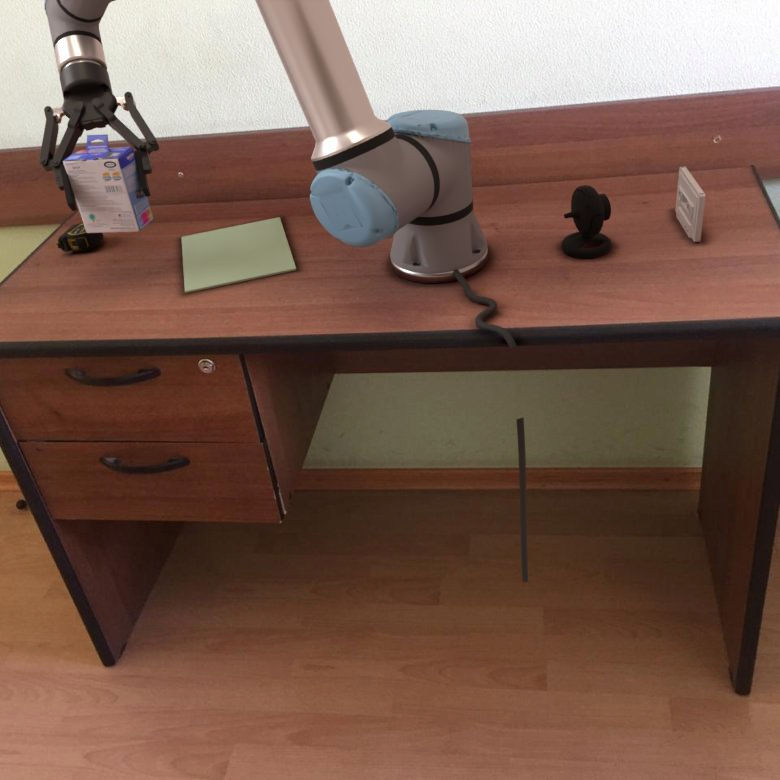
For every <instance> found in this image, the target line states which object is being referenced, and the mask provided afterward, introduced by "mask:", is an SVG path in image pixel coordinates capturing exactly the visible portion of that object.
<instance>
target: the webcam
mask: <svg viewBox="0 0 780 780" xmlns="http://www.w3.org/2000/svg"><path fill="white" fill-rule="evenodd" d="M611 215H612V205H611V202H610V199H609V197H608V196H607V194H605V193H598V191H597V190H596V189H595V188H594V187H593V186H591V185H589V184H588V185H586V184H584V185H580V186H577V187H576V188H575V189H574V190H573V192H572V195H571V199H570V211H569V212H566V213H564V214H563V217H564V219H565V220H567V219H572V220H573V223H574V226H575V227H576V229H577V231H576V232H572V233H569V234H568V235H566V236H565V237H564V238H563V239H562V240H561V249H562V251H563V252H565V254H567V255H569V256H571V257H574V258H578V259H579V258H580V259H593V258H597V257H601V256H603V255H605V254H607V253H608V252H609V251H610V249H611V247H612V241H611V238H610V237H609V236H608V235H606V234H604V233H602V232H601V231H602V229H603V226H604V222H606V221H609V219H610V218H611ZM591 243H599V244H600V245H598V246H595V247H588V248H582V247H583V246H586V245H588V244H591Z"/></svg>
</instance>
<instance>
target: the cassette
mask: <svg viewBox="0 0 780 780" xmlns="http://www.w3.org/2000/svg"><path fill="white" fill-rule="evenodd" d="M677 177H678V179H677V180H678V181H677V189H676V190H677V191H676V198H675V199H676V201H675V210H674V211H675V213H676V214H675V217H676V219H677V220H678V222H679V224H680V225H681V227H682V229H683V230H684V232H685V233H686V235H687V237H688V238H689V239H692V241H693V243H700V242H701V240H702V232H703V222H704V213H705V204H706V198H707V197H706V196H707V195H706V194H705V191H704V190H703V189H702V187H701V186H700V184H699V183H698V182H697V181H696V179H695V178H694V176H693V175H692V173H691V172H690V171H689V169H688V168H687V166H686V165H685V166H679V168H678V176H677Z"/></svg>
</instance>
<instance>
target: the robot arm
mask: <svg viewBox="0 0 780 780" xmlns="http://www.w3.org/2000/svg"><path fill="white" fill-rule="evenodd" d="M43 1H44V11H45V15H46V18H47V23H48V28H49V32H50V38H51V42H52V46H53V52H54V53H53V54H54V58H55V62H56V68H57V72H58V74H59V83H60V87H61V93H62V97H63V103H62V106H59V107H54V108H52V107H51V106H50V105H46V106H45V107H44V108H43V111H44V117H45V126H44V131H43V136H42V140H41V141H42V142H41V146H40V147H41V148H40V153H39V158H38V162H39V164H40V166H41V167H42V168H43V170H44V171H45V172H53V174H54V178H55V185H56V186H57V187H58V189H59V190H60V191H61V192H62V191H64V195H65V199H66V204H67V206H68V208H69V209H70V210H71V211H72V212H75V211H78V205H77V202H76V199H75V196H74V193H73V190H72V187H71V184H70V181H69V178H68V176H67V173H66V170H65V167H64V164H63V161H64V160H65V159H66V158H68V157H69V156H70V155H72V154H73V153H74V151H75V148H76V146H77V144H78V141H79V139H80V138H81V137H83V136H82V135H83V134H84V131H86V132H88V131H92V130H95V129H103V128H107V126H109V127H110V128H111V129H112V130H113V131H115V132H117V134H119V136H121V137H122V138H123V140H125V141H126V142H127V143H128V144H129V145H130V147H133V150H134V154H135V158H136V163H137V168H138V172H139V177H140V182H141V186H142V190H143V192H144V194H145V196H146V197H147V198H148V197H151V191H150V187H149V182H148V177H147V175H151V174H152V173H153V167H152V162H151V158H150V154H151V153H153V152H158V151H159V150H160V145H159V143H158V140H157V138H156V136H155V134H154V133H153V131H152V130H151V128H150V127H149V126H148V124H147V122H146V121H145V119H144V118H143V116H142V115H141V113H140V112H139V109H138V108H137V104H136V103H137V102H136V100H135V99H134V95H133V93H132V92H130V91H126V92H125V93H124V94H123V95H122V96H115V95H114V94H113V93H114V92H113V89H112V84H111V80H110V74H109V72H108V65H107V61H106V60H107V59H106V55H105V51H104V46H103V42H102V37H101V31H100V24H101V21H102V18H104V15H105V13H106V10H107V9H108V7H109V4H110V3H112V2H115V1H116V0H43ZM254 2H255V3H256V6H257V8H258V11H259V13H260V15H261V18H262V19H263V22H264V24H265V27H266V30H267V31H268V34H269V36H270V38H271V40H272V43H273V45H274V48H275V50H276V52H277V55H278V58H279V59H280V62H281V64H282V67H283V69H284V71H285V73H286V76H287V78H288V80H289V82H290V85H291V87H292V90H293V92H294V94H295V96H296V98H297V99H296V100H297V101H298V103H299V106H300V108H301V111H302V113H303V115H304V118H305V120H306V122H307V124H308V127H309V129H310V132H311V135H312V137H313V138H314V141H315V143H314V149H313V152H312V155H311V157H310V161H311V163H312V165H313V167H314V170H315V173H316V175H315V177H314V179H313V180H312V182H311V185H310V194H309V201H310V205H311V208H312V211H313V213H314V215H315V217H316V219H317V220H318V221H319V223H320V224H321V226H322V227H323V228H324V229H325V231H327V233H329V234H330V235H331V236H332V237H333V238H335V239H337V240H340V242H342V244H345V245H348V246H350V247H355V248H369V247H372V246H374V245H376V244H379V243H380V242H382V241H383V240H387V239H390V238H392V237H393V238H392V243H391V248H390V254H389V256H390V258H389V259H390V265H391V269H392V271H393V272H394V273H395V274H396V275H397V276H399V277H400V278H402V279H404V280H408V281H411V282H415V283H423V284H439V283H446V282H447V283H448V282H453V281H457V282H458V283H459V285H460V286H461V287H462V289H463V292H464V293H465V295H466V296H467V298H469V299H470V300H471V301H472V302H474V303H476V304H481V305H486V306H489V307H487V308H485V309H484V310H482V311H481V312H479V313H478V314H477V315H476V317H475V318H474V321H475V325H476V326H477V328H479V329H480V330H482V331H486V332H491V333H495V334H497V335H498V336H501V337H502V338H503V339H504V340H505V342H506V344H507V345H508V348H510V349H516V348H517V347H518V346H517V343H516V340H515V339H514V337H513V336H512V334H511V333H510V332H509V331H508V330H507V329H505V328H504V327H502V326H499V325H496V324H493V323H487V322H485V321H483V320H485V319H487V318H488V317H489V316H491V315H493V314H494V313H495V312H496V311H497V309H498V303H497V301H496V300H494V298H491V297H486V296H482V295H478V294H476V293H475V292H474V291H473V290H472V288H471V286H470V285H469V282H468V281H467V280H466V278H467V277H469V276H471V275H473V274H476V273H477V272H479V271H480V270H481V269H482V268H484V267H485V265H486V264H487V262H488V260H489V250H488V249H489V247H488V243H487V240H486V238H485V235H484V232H483V230H482V228H481V226H480V222H479V220H478V218H477V215H476V214H475V209H474V195H473V194H474V192H473V177H472V175H473V174H472V158H471V157H472V155H471V143H472V140H471V138H470V131H469V125H468V120H467V119H466V118H465V117H464V116H463V115H462V114H460V113H458V112H454V111H450V110H445V109H415V110H407V111H402V112H397V113H394V114H392V115H390V116H389V117H388V118H387V121H385V120H383V119H380V118H378V116H377V115H375V112H374V109H373V107H372V104H371V102H370V99H369V97H368V94H367V92H366V90H365V87H364V85H363V81H362V80H361V76H360V75H359V72H358V69H357V66H356V64H355V62H354V59H353V57H352V54H351V52H350V49H349V47H348V45H347V42H346V39H345V37H344V34H343V32H342V29H341V27H340V24H339V22H338V20H337V16H336V13H335V12H334V9H333V6H332V4H331V2H330V0H254ZM118 107H121V108H122V109H123V110H124V111H126V112H129V114H130V117H131V118H132V120H133V122H134V123H135V125H136V126H137V128H138V129H139V131H140V132H141V134H142V136H143V137H144V139H145V141H142V140H141V138H139V137H138V136H137V135H136V134H135V133H134V132H133V131H132V130H131V129H130V128H129V127H128V126H127V125H126V124H124V122H122V121H121V120H120V119H119V118H118V117H117V116H116V114H115V113H116V112H117V109H118ZM65 116H66V118H68V121H67V127H66V129H65V131H64V134H63V136H62V137H61V140H60V143H59V145H58V147H57V142H58V137H59V136H58V135H59V128H60V126H59V124H61V123H62V119H63V117H65ZM56 147H57V149H56ZM516 430H517V431H516V433H517V450H518V451H517V452H518V477H519V479H518V480H519V482H518V485H519V522H520V523H519V525H520V527H519V528H520V531H519V532H520V558H521V559H520V563H521V564H520V565H521V581H522V582H523V583H529V566H528V565H529V560H528V559H529V557H528V556H529V555H528V503H527V501H528V500H527V499H528V498H527V495H528V494H527V462H526V461H527V458H526V457H527V454H526V433H525V418H524V417H520V418H516Z"/></svg>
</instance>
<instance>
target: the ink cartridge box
mask: <svg viewBox="0 0 780 780" xmlns="http://www.w3.org/2000/svg"><path fill="white" fill-rule="evenodd" d="M96 140H99V141H102V142H104V143H103V144H92V143H91V142H93V141H96ZM134 151H135V149H134V148H133V147H132V146H121V147H119V146H118V147H109V134H107V133H106V134H87V135H86V149H79V150H77V151H74V152H72V154H71V155H70V156H69V157H68V158H66V159H65V160H64V161H63V164H64V167H65V170H66V173H67V176H68V178H69V181H70V184H71V187H72V190H73V193H74V196H75V201H76V206H77V209H78V211H79V214H80V217H81V220H82V223H84V226H85V229H86V233H136V232H137V233H138V232H141V231H142V230H143V229H144V228H145V227H146V226H148V225H149V224H150V223H152V222H153V221H154V219H155V218H154V214H153V211H152V208H151V205H150V201H149V198H148V196H147V197H146V196H145V194H144V192H143V190H142V186H141V182H140V177H139V172H138V168H137V163H136V158H135V153H134Z"/></svg>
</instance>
